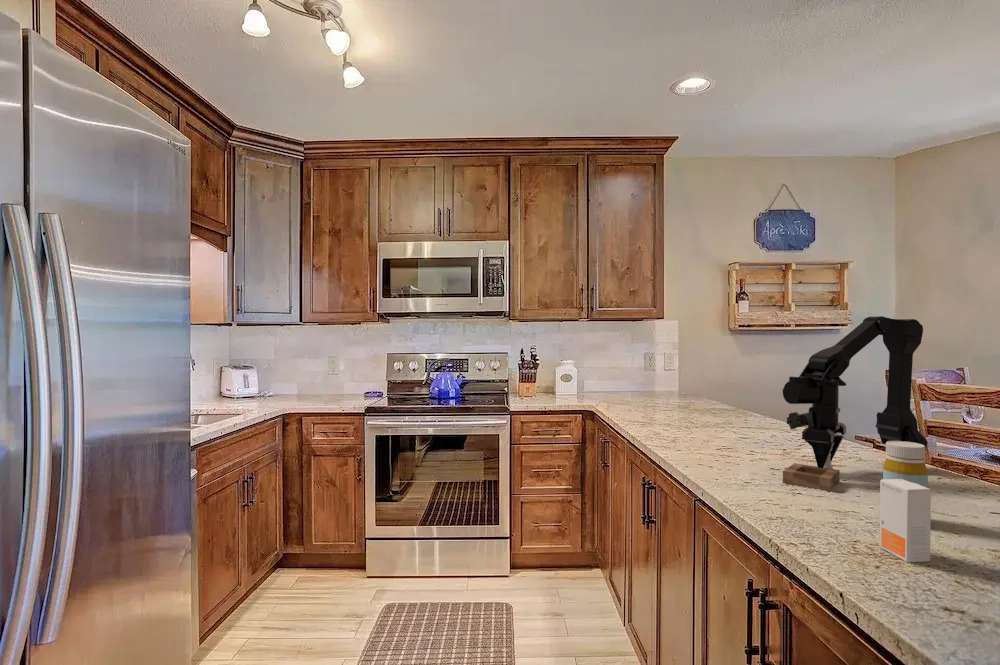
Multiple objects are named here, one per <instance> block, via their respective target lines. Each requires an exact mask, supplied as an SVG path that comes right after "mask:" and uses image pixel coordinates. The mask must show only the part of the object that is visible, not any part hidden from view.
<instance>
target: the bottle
mask: <svg viewBox="0 0 1000 665" xmlns="http://www.w3.org/2000/svg"><path fill="white" fill-rule="evenodd" d="M925 457H926V449H925V446H924V445H922V444H919V443H913V442H906V441H887V442H886V444H885V458H886V459H885V460H884V463H883V466H882V471H883V472H882V479H903V480H906V481H909V482H912V483H916V484H919V485H921V486H923V487H926V488H929V482H928V481H929V472H928V467H927V466H926V463H925V462H926V460H925V459H926V458H925Z"/></svg>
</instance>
